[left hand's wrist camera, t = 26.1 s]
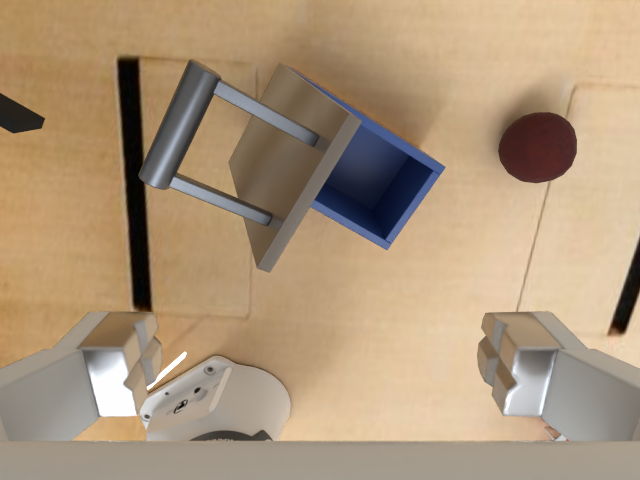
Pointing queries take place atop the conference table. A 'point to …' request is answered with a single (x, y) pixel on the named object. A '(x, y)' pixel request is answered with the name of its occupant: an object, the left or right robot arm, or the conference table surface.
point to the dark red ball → (538, 147)
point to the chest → (375, 180)
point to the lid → (257, 152)
